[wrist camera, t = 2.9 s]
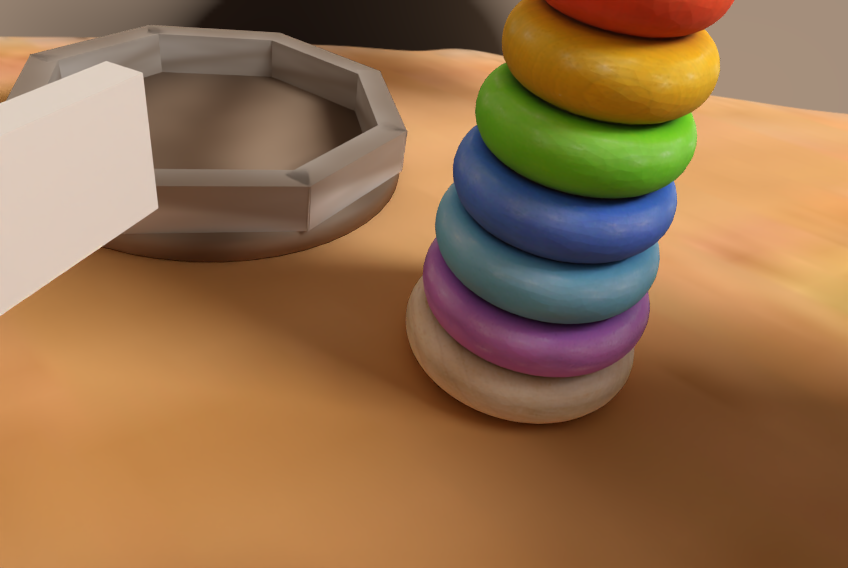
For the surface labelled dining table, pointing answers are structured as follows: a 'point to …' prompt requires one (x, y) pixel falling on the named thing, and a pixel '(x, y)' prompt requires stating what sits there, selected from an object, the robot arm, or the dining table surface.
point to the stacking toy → (562, 205)
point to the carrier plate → (247, 139)
